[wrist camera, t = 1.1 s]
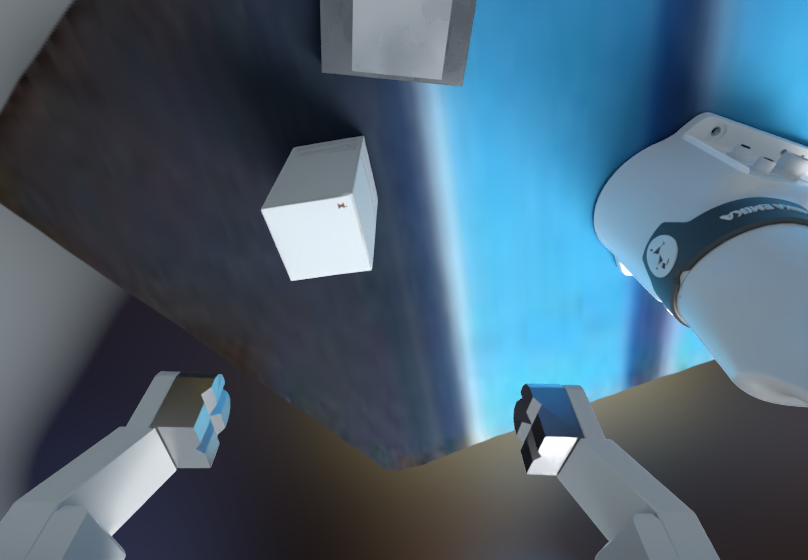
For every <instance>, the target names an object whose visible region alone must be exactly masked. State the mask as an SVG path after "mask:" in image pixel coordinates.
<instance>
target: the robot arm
mask: <svg viewBox="0 0 808 560" xmlns="http://www.w3.org/2000/svg"><path fill="white" fill-rule="evenodd" d="M714 128H716V130H715V131H714V132H713V133H711V132H712V130H713V129H714ZM594 227H595V231H596V234H597V236H598V238H599V240H600V241H601V243H602V244H603V245H604V246H605V247H606V248H607V249H609V250H610V251H611V252H612V253H613V254H614V256H615V260H616V264H617V267H618V269H619V270H620V271H621V272H622V273H623V274H624V275H627V276H634V277H635V278H636V279H637V280H638V281H639V282H640V283H641V284H642V285H643V286H644V287H645V288H646V289H647V290H648V291H649V293H650V294H651V295H652V296H654V297H655V298H656V299H657V300H658V301H660V302H663V306H664V307H665V308H666V309H667V310H668V311H669V313H670V314H672V315H673V316H674V317H675V318H676V319H677V320H678V321H679V322H680V323H682V324H683V325H685V326H687V327H689V328H691V330H692V331H693V332H694V333H695V335H696V336H697V337H698V338H699V340H700V341H701V342H702V343H703V345H704V346H705V347H706V348H707V350H708V351H709V352H710V353H711V355H712V356H713V357H714V358H715V360H716V361H717V362H718V363H719V365H720V366H721V367H722V368H723V370H724V371H725V372H726V373H727V375H728V376H729V377H730V378H731V380H732V381H733V382H734V383H735V384H736V385H737V386H738V387H739V388H741V389H742V390H743V391H745V392H746V393H748V394H750V395H752V396H754V397H756V398H758V399H761V400H765V401H768V402H773V403H777V404H783V405H790V406H800V407H808V147H807V146H804V145H802V144H799V143H796V142H793V141H790V140H787V139H785V138H782V137H779V136H776V135H773V134H770V133H768V132H765V131H762V130H759V129H756V128H753V127H751V126H748V125H745V124H742V123H739V122H736V121H733V120H731V119H728V118H725V117H722V116H719V115H716V114H714V113H710V112H705V113H702V114H699V115H698V116H696V117H694V118H693V119H692V120H690V121H689V122H688V123H687V124H685V125H684V126H683V127H682V128H681V129H679V130H678V131H677V132H676V133H675V134H674V135H672V136H670V137H669V138H667V139H665V140H663V141H660V142H658V143H656V144H654V145H652V146H650V147H648V148H646V149H644V150H642V151H640V152H639V153H637V154H636V155H634V156H633V157H632V158H630V159H629V160H628V161H627V162H625V163H624V164H623V165H622V166H621V167H620V168H619V169H618V170H617V171H616V172H615V173H614V174H613V175H612V177H611V178H610V179H609V180H608V182H607V183H606V185H605V186H604V188H603V190H602V192H601V193H600V196H599V198H598V200H597V203H596V207H595V211H594ZM224 384H225V381H224V378H223V375H222V374H205V373H187V372H166V371H161V372H160V373H159V374H158V375H156V376H155V377H154V379H153V381H152V383H151V384H150V386H149V388H148V390H147V391H146V393H145V395H144V397H143V398H142V400H141V402H140V403H139V405H138V407H137V409H136V410H135V412H134V414H133V415H132V417H131V419H130V421H129V422H128V424H127V426H126V427H119V428H118V429H116V430H115V431H114V432H112V433H111V434H110V435H108V436H106V437H105V438H104V439H102V440H101V441H100V442H98V443H97V444H95V445H94V446H93V447H91V448H90V449H88V450H87V451H86V452H84V453H83V454H81V455H80V456H79V457H77V458H76V459H74V460H73V461H72V462H71V463H69V464H68V465H66V466H65V467H64V468H62V469H61V470H59V471H58V472H56V473H55V474H54V475H52V476H51V477H50V478H48V479H47V480H45V481H44V482H42V483H41V484H40V485H38V486H37V487H35V488H34V489H33V490H31V491H30V492H28V493H27V494H26V495H24V496H23V497H21V498H20V499H19V500H17V501H16V502H14V504H13V505H12V507H11V508H10V510H9V511H8V512H7V514H6V515H5V517H4V518H3V520H2V521H1V522H0V560H124V558H125V556H126V555H125V552H124V550H123V548H122V547H121V546H120V545H119V544H118V543H117V542H116V541H115V539H114V538H113V537H112V535H113V534H114V533H115V532H116V531H117V530H118V529H119V528H120V527H121V526H122V525H123V524H124V523H125V522H126V521H127V520H128V519H129V518H130V517H131V516H132V515H133V514H134V513H135V512H136V511H137V510H138V509H139V508H140V507H141V506H142V505H143V504H144V503H145V502H146V501H147V499H148V498H149V497H150V496H151V495H152V494H153V493H154V492H155V491H156V490H157V489H158V488H159V487H160V486H161V485H162V484H163V483H164V482H165V481H166V480H167V479H168V478H169V477H170V476H171V475H172V474H173V473H174V472H175V471H176V468H210V467H211V465H212V462H213V460H214V457H215V454H216V451H217V448H218V446H219V441H218V438H217V434H219V433H220V432H221V431H222V430H223V429H224V428H225V426H226V424H227V421H228V418H229V412H230V397H229V394H228V392H226V391H225V390H223V386H224ZM521 395H522V399H520V400H519V401H517V402H516V405H515V408H514V418H513V419H514V427H515V431H516V435H517V436H518V437H519V438H520V439H521V441H522V442H523V443H524V444H523V446H522V448H521V450H520V451H521V455H522V459H523V462H524V466H525V470H526V474H536V475H557V478H558V479H559V480H560V481H561V483H562V484H563V485H564V486H565V488H566V489H567V490H568V491H569V493H570V494H571V495H572V496H573V497H574V499H575V500H576V501H577V502H578V503H579V505H580V506H581V507H582V508H583V510H584V511H585V512H586V513H587V515H588V516H589V517H590V518H591V520H592V521H593V522H594V523H595V524H596V526H597V527H598V528H599V529H600V531H601V532H602V533H603V534H604V536H605V537H606V538H607V539H608V541H609V542H608V543H607V544H606V545H605V546H604V547H603V548H602V549H601V550H600V551H599V553H598V554H597V556H596V557H595V560H720V559H719V557H718V555H717V553H716V551H715V550H714V548H713V546H712V544H711V542H710V541H709V539H708V537H707V535H706V533H705V531H704V529H703V527H702V526H701V524H700V522H699V520H698V518H697V516H696V515H695V513H694V512H693V511H692V510H691V509H689V508H688V507H687V506H686V505H685V504H684V503H683V502H682V501H680V500H679V499H678V498H677V497H676V496H675V495H674V494H672V493H671V492H670V491H669V490H668V489H667V488H666V487H665V486H663V485H662V484H661V483H660V482H659V481H658V480H656V479H655V478H654V477H653V476H652V475H651V474H650V473H649V472H648V471H646V470H645V469H644V468H643V467H642V466H641V465H640V464H638V463H637V462H636V461H635V460H634V459H633V458H632V457H630V456H629V455H628V454H627V453H626V452H625V451H624V450H622V449H621V448H620V447H619V446H618V445H617V444H616V443H615V442H613V441H612V440H611V439H610V440H609V439H605V436H604V434H603V432H602V430H601V427H600V425H599V423H598V421H597V419H596V417H595V415H594V412H593V410H592V408H591V406H590V403H589V401H588V398H587V396H586V394H585V392H584V390H583V388H582V387H581V386H579V385H560V384H525V385H524V386H523V387H522V390H521Z"/></svg>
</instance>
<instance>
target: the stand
mask: <svg viewBox="0 0 808 560" xmlns="http://www.w3.org/2000/svg"><path fill="white" fill-rule="evenodd" d="M475 6H476V0H452V7H451V14H450V21H449V29H448V36H447V43H446V50H445V58H444V65H443V72H442V80H437V79H427V78H416V77H406V76H396V75H386V74H376V73H366V72H356V71H352V35H353V0H320V17H321V56H322V73H332V74H342V75H353V76H363V77H373V78H383V79H393V80H404V81H414V82H424V83H434V84H444V85H455V86H462V84H463V78H464V72H465V66H466V60H467V54H468V48H469V42H470V36H471V30H472V24H473V18H474V12H475Z"/></svg>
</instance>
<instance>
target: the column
mask: <svg viewBox="0 0 808 560" xmlns="http://www.w3.org/2000/svg"><path fill="white" fill-rule="evenodd" d="M451 7H452V0H353V35H352V71H356V72H366V73H376V74H386V75H396V76H406V77H416V78H427V79H437V80H442V72H443V65H444V58H445V50H446V43H447V36H448V29H449V21H450V14H451Z"/></svg>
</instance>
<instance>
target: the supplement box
mask: <svg viewBox="0 0 808 560" xmlns="http://www.w3.org/2000/svg"><path fill="white" fill-rule="evenodd" d="M377 202H378V198H377V193H376V188H375V183H374V179H373V174H372V170H371V166H370V161H369V157H368V153H367V148H366V144H365V140H364V136H358V137H352V138H346V139H341V140H334V141H328V142H322V143H316V144H310V145H304V146H299V147H294V148H293V149H292V151H291V153H290V155H289V157H288V159H287V161H286V163H285V165H284V166H283V168H282V170H281V172H280V174H279V176H278V178H277V180H276V182H275V184H274V186H273V188H272V189H271V191H270V193H269V195H268V197H267V199H266V201H265V203H264V205H263V206H262V208H261V211H262V214H263V216H264V218H265V221H266V223H267V226H268V228H269V230H270V233H271V235H272V237H273V240H274V242H275V244H276V247H277V249H278V252H279V254H280V256H281V259H282V261H283V263H284V265H285V268H286V270H287V272H288V275H289V277H290V280H291V281H294V280H301V279H308V278H315V277H323V276H330V275H336V274H344V273H353V272H361V271H370V270H372V264H373V254H374V240H375V227H376V213H377Z"/></svg>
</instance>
